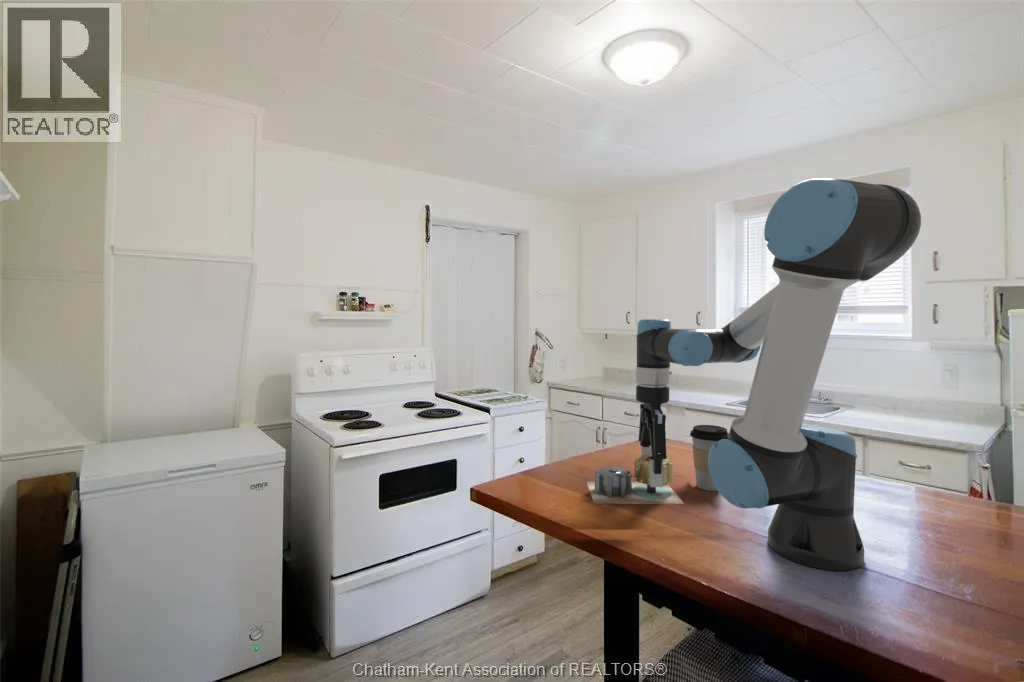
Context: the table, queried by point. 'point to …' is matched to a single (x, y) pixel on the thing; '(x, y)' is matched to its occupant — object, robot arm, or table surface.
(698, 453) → the coffee cup
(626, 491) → the gear
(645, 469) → the gear
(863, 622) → the table surface
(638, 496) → the gear board
